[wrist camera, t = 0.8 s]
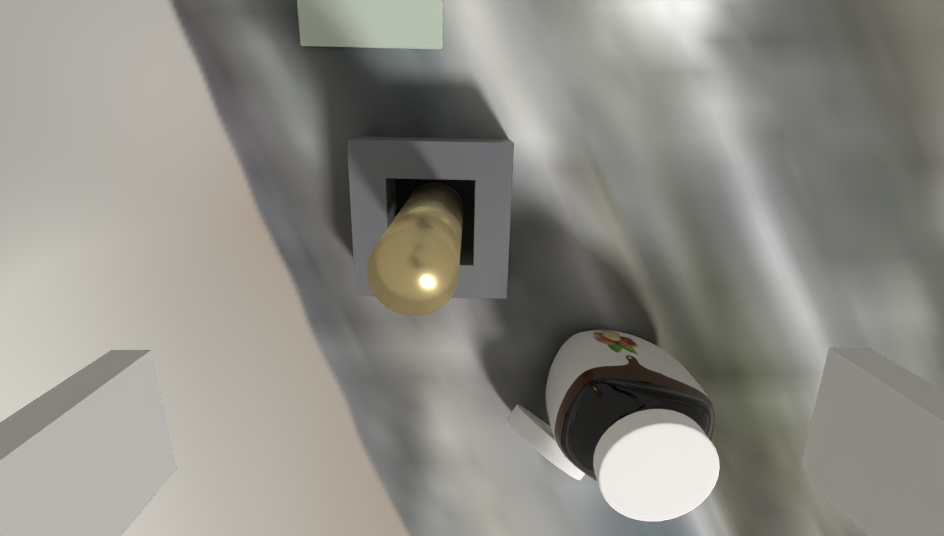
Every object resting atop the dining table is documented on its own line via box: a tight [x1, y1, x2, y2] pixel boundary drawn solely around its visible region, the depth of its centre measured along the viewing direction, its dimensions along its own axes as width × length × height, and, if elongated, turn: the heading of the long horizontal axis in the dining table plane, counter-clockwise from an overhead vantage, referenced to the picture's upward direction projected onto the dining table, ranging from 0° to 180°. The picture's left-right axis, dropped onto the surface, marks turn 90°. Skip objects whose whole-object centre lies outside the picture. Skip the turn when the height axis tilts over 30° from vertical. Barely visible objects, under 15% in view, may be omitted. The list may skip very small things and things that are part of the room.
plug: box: [367, 182, 464, 316], centre depth 28 cm, size 4×4×14 cm
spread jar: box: [507, 329, 720, 521], centre depth 33 cm, size 12×11×12 cm
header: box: [347, 136, 514, 299], centre depth 33 cm, size 10×10×4 cm
